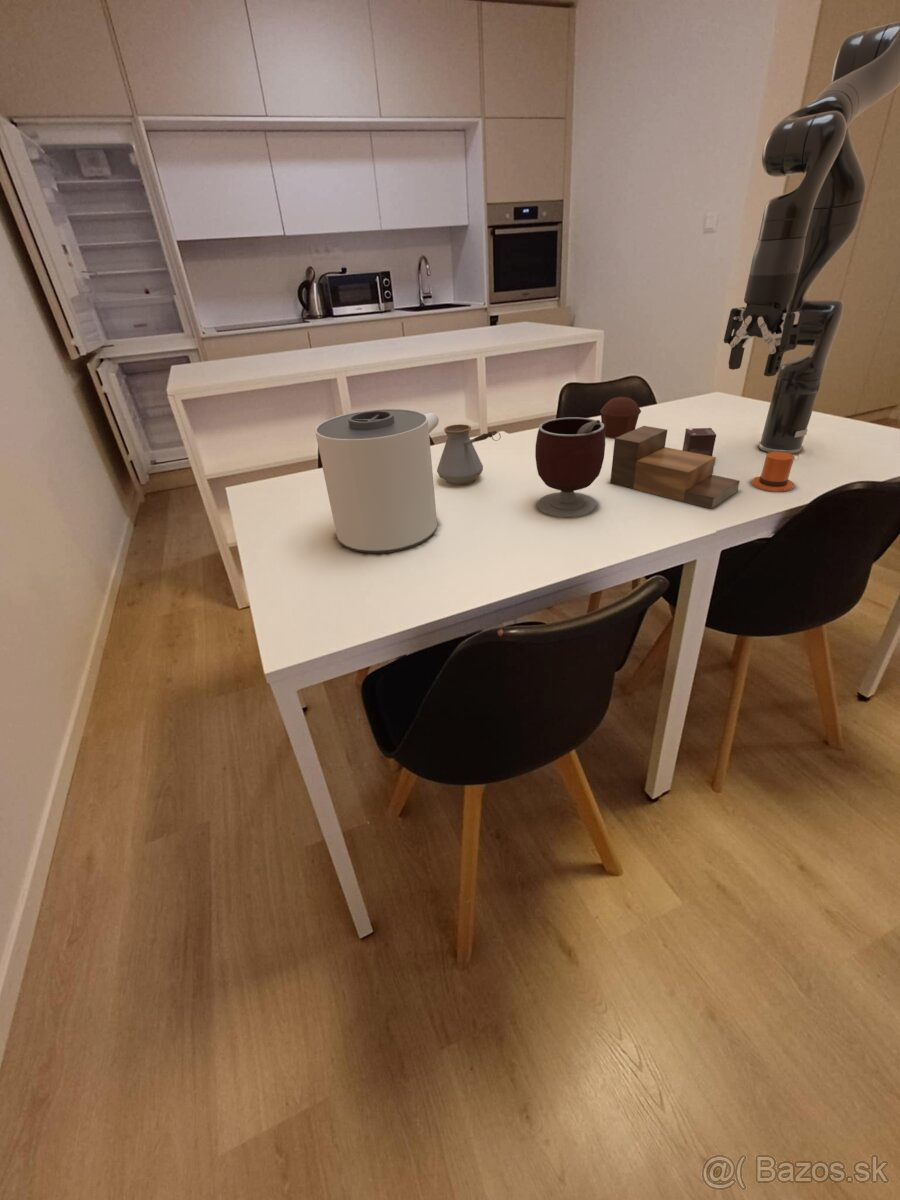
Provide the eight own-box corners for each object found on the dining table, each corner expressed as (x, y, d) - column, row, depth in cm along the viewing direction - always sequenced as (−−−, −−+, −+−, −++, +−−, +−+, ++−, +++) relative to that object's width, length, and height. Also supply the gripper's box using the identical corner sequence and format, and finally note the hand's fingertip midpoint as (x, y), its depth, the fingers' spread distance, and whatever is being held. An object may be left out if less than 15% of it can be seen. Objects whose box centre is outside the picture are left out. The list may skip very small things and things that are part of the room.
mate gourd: (522, 501, 118) (523, 409, 107) (575, 488, 122) (580, 398, 111) (561, 527, 106) (566, 426, 95) (618, 512, 110) (629, 413, 99)
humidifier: (362, 507, 121) (344, 402, 109) (449, 511, 116) (441, 401, 103) (319, 550, 104) (292, 432, 92) (419, 558, 99) (404, 433, 86)
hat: (760, 475, 121) (768, 447, 117) (799, 483, 115) (808, 454, 112) (745, 486, 116) (752, 456, 113) (784, 494, 111) (793, 464, 108)
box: (710, 465, 128) (717, 434, 124) (684, 465, 130) (689, 435, 126) (706, 456, 133) (711, 427, 129) (680, 456, 135) (685, 427, 131)
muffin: (596, 428, 160) (599, 394, 155) (634, 427, 158) (638, 392, 153) (600, 440, 150) (603, 404, 145) (641, 439, 149) (645, 402, 143)
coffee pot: (429, 479, 134) (423, 419, 125) (466, 468, 138) (463, 409, 130) (478, 504, 118) (475, 437, 110) (518, 491, 123) (518, 426, 115)
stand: (638, 468, 130) (643, 425, 124) (737, 491, 114) (749, 443, 108) (610, 482, 123) (614, 438, 118) (711, 509, 108) (722, 458, 102)
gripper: (828, 269, 85) (799, 375, 94) (758, 269, 97) (738, 364, 106) (791, 273, 83) (765, 381, 92) (725, 273, 95) (707, 369, 104)
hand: (751, 372), depth 99 cm, fingers open, 8 cm apart
